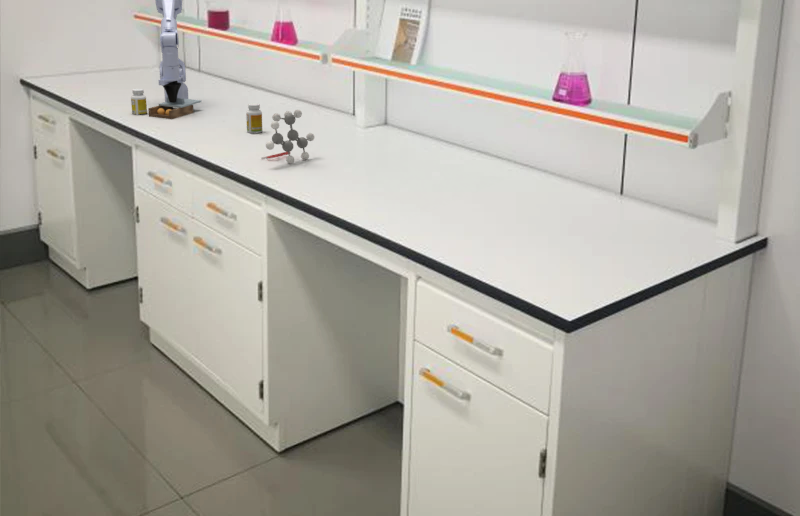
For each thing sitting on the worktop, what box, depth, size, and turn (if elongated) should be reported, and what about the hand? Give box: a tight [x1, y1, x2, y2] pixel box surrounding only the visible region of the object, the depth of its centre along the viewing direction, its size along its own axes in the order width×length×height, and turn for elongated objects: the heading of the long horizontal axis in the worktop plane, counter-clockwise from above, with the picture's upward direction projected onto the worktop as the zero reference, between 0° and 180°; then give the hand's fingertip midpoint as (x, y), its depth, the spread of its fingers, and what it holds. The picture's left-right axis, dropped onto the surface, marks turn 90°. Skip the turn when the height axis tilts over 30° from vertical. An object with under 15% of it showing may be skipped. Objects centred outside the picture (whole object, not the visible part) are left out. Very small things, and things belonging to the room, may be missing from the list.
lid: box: [157, 97, 202, 108], centre depth 339 cm, size 14×10×3 cm
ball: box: [157, 108, 165, 115], centre depth 332 cm, size 3×3×3 cm
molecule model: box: [260, 109, 315, 165], centre depth 276 cm, size 20×16×16 cm
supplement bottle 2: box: [245, 103, 263, 134], centre depth 313 cm, size 5×5×10 cm
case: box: [147, 104, 194, 120], centre depth 335 cm, size 14×10×4 cm
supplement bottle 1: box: [130, 88, 148, 116], centre depth 333 cm, size 5×5×10 cm
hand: (172, 102), depth 335 cm, fingers closed
